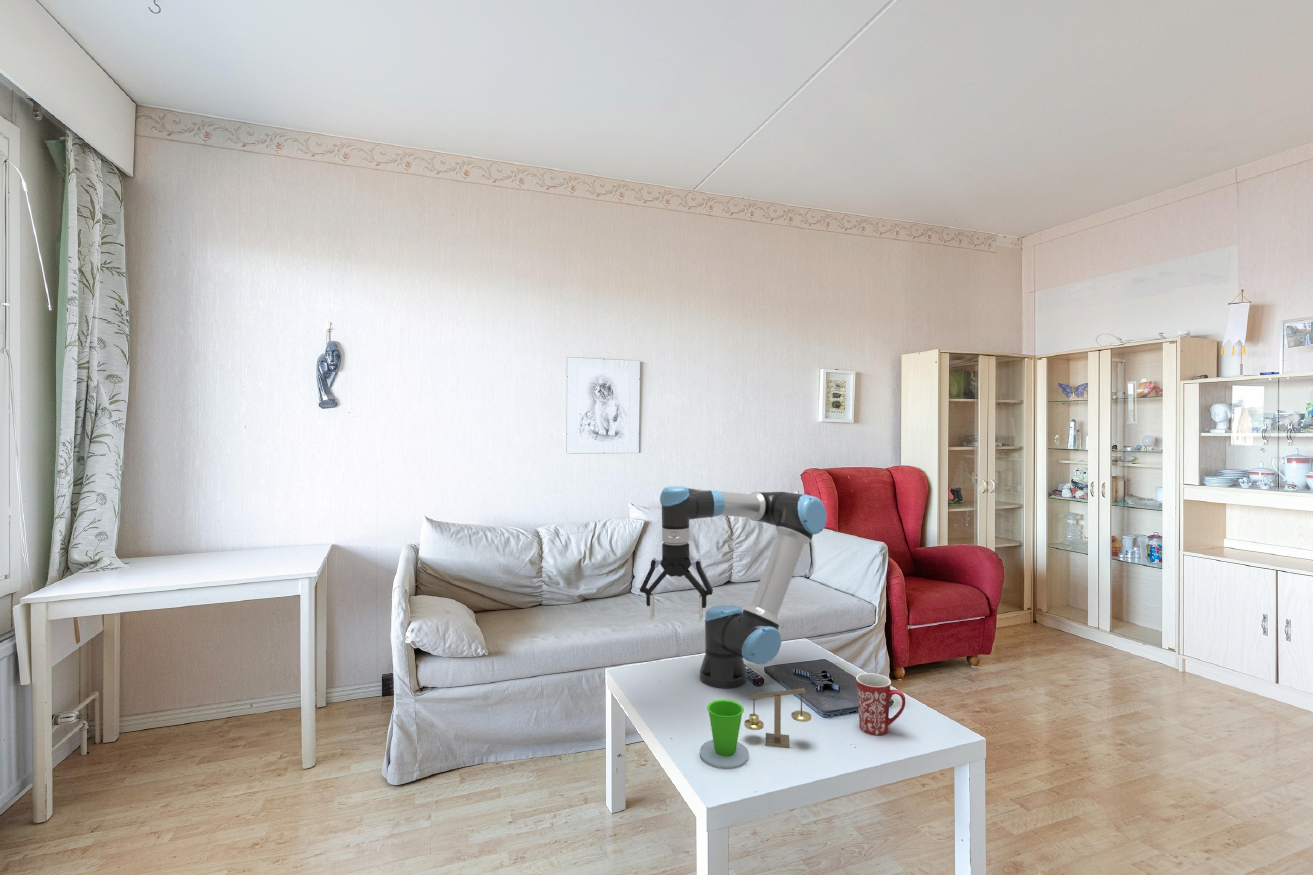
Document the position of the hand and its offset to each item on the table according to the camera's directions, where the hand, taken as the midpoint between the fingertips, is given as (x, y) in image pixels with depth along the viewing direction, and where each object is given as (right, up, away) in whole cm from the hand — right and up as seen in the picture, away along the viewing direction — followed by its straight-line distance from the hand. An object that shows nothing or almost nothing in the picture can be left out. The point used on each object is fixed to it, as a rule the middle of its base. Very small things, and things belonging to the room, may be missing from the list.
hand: (676, 618), depth 173 cm
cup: (+11, -28, -19) cm, 35 cm away
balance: (+26, -28, -12) cm, 40 cm away
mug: (+54, -28, -7) cm, 62 cm away
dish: (+11, -29, -19) cm, 36 cm away
